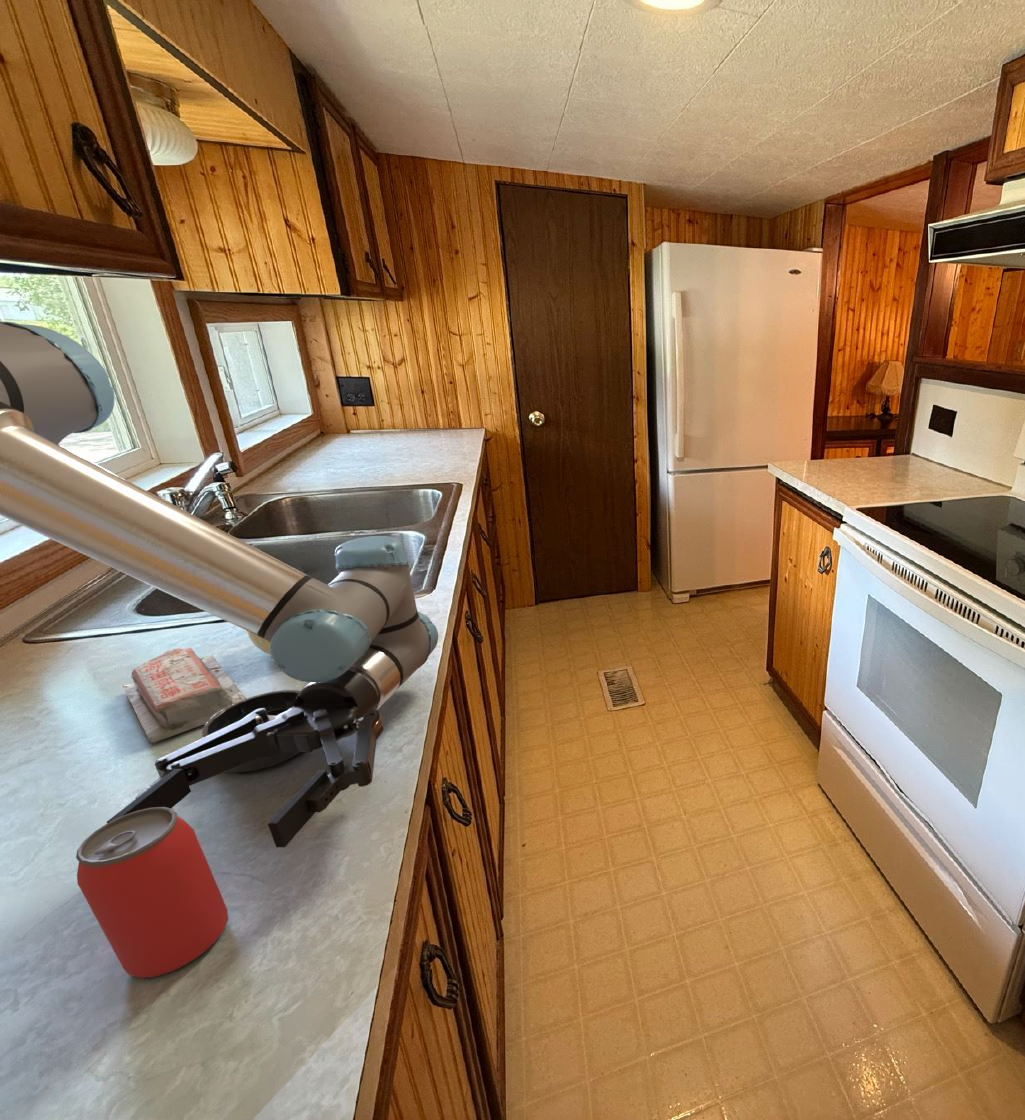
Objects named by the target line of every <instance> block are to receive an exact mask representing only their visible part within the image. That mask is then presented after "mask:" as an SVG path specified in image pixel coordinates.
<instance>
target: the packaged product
mask: <svg viewBox="0 0 1025 1120" xmlns="http://www.w3.org/2000/svg"><path fill="white" fill-rule="evenodd" d="M130 677H131V679H132V681H133V682H132V683H129V684H122V688H123V689H124V692H125V694H126V697H127V699H128V701H129V702H130V704H131V706H132V707H133V710H134V713H135V715H136V717H137V719H138V721H139V723H140V725H141V727H142V730H143V731H144V733H145V734H146V737H147V738H148V741H149V742H151V743H153V744H154V743H157V742H160V741H162V740H165V739H169V738H170V737H173V736H176V735H179V734H183V733H184V732H188V731H190V730H193V729H195V728H198V727H202V726H205V724H206V723H207V722H208V721H209V720H210V719H211V718H212V717H213V716H215V715H216V714H217V713H219V712H220V711H222V710H223V709H225V708H227V707H229V706H231V705H233V704H235V703H237V702H240V701H242V700H245V699H247V696H245V694H244V693H243V692H242V691H241V690H240V688H239V687H238V686H237V685H236V683H235V682H234V680H233V679H232V678H231V677H230V676H229V675H228V673H227V672H226V671H225V670H224V668H223V667H222V666H221V665H220V663H219V662H218V660H217V659H216V657H214V656H213V654H211V655H208V656H204V657H201V658H200V657H199V656H198V655H197V654H196V652H195V651H194V649H193V648H192V647H187V648H173V649H170V650H167V651H165V652H164V653H163V654H160V655H158V656H155V657H154V658H152V659H150V660H148V661H146V662H143V663H142V664H140V665H138V666H136V667H135V668H133V670H132V672H131V676H130Z"/></svg>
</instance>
